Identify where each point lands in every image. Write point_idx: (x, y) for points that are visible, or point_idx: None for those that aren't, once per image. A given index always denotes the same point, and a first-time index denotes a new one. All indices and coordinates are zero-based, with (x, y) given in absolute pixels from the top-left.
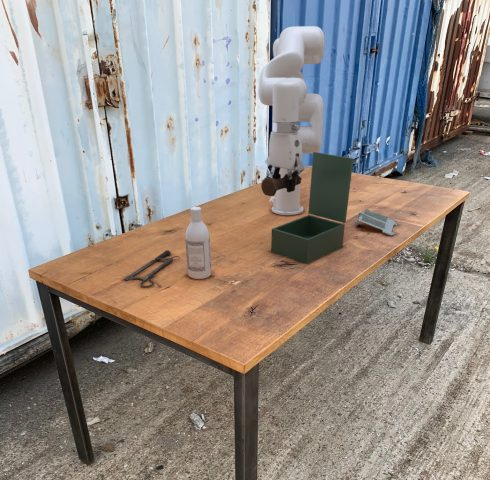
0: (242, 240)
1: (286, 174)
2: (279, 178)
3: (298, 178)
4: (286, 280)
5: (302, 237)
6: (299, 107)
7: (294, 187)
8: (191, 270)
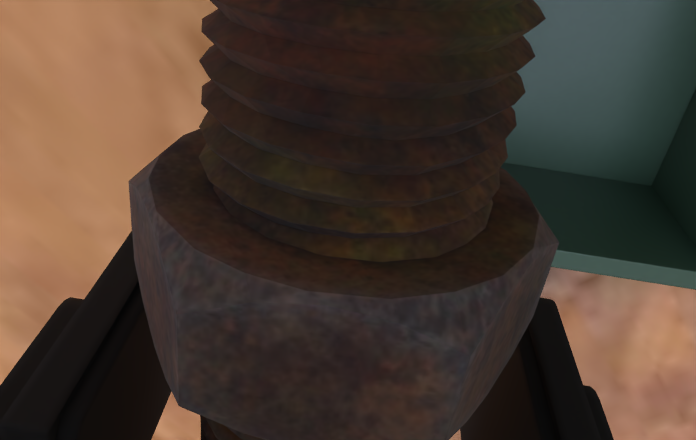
0: (65, 76)
1: (230, 424)
2: (118, 395)
3: (515, 38)
4: (614, 390)
5: (667, 274)
6: None
7: (591, 408)
8: None
